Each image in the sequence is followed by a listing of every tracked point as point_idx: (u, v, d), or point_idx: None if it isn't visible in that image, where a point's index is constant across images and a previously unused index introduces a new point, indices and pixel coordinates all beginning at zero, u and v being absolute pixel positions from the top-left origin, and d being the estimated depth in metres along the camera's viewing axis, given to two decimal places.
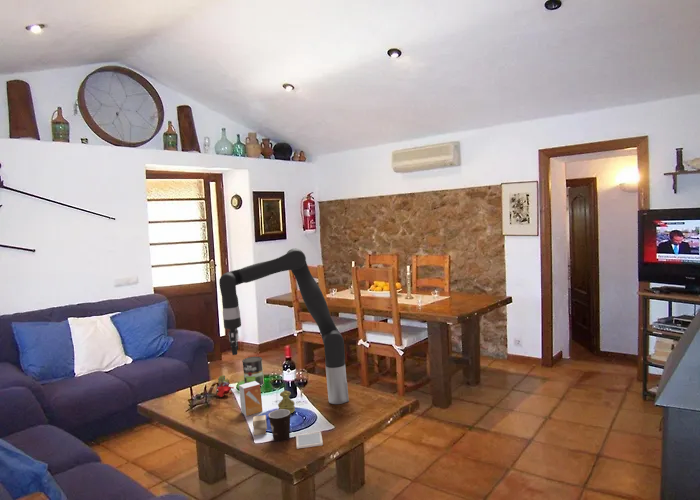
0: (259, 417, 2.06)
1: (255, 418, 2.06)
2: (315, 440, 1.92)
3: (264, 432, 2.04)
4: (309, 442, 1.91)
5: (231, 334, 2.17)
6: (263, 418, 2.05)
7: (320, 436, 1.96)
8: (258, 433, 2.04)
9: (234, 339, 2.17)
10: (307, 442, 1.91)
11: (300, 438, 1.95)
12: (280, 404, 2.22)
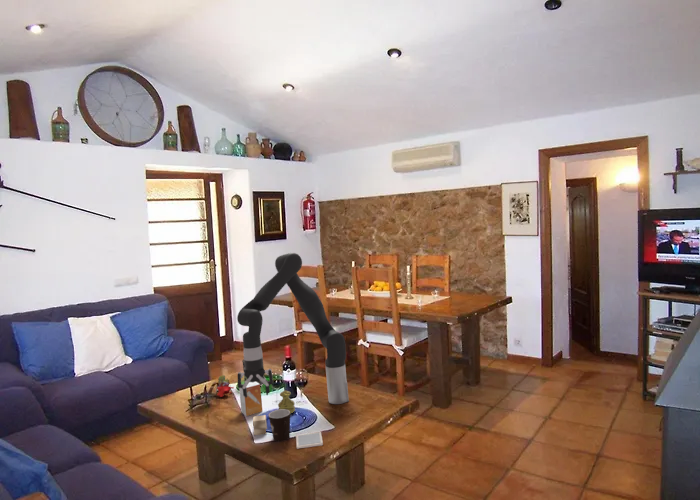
0: (259, 417, 2.06)
1: (255, 418, 2.06)
2: (315, 440, 1.92)
3: (264, 432, 2.04)
4: (309, 442, 1.91)
5: (271, 370, 2.05)
6: (263, 418, 2.05)
7: (320, 436, 1.96)
8: (258, 433, 2.04)
9: None
10: (307, 442, 1.91)
11: (300, 438, 1.95)
12: (280, 404, 2.22)
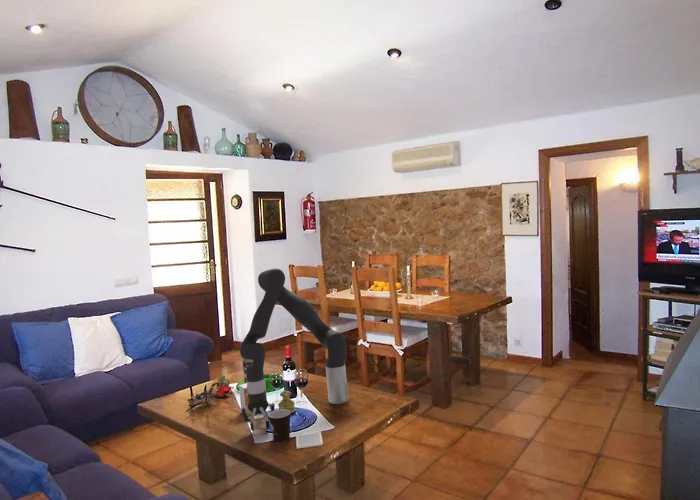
0: (259, 417, 2.06)
1: (255, 418, 2.06)
2: (315, 440, 1.92)
3: (264, 432, 2.04)
4: (309, 442, 1.91)
5: (274, 405, 2.06)
6: (263, 418, 2.05)
7: (320, 436, 1.96)
8: (258, 433, 2.04)
9: None
10: (307, 442, 1.91)
11: (300, 438, 1.95)
12: (280, 404, 2.22)
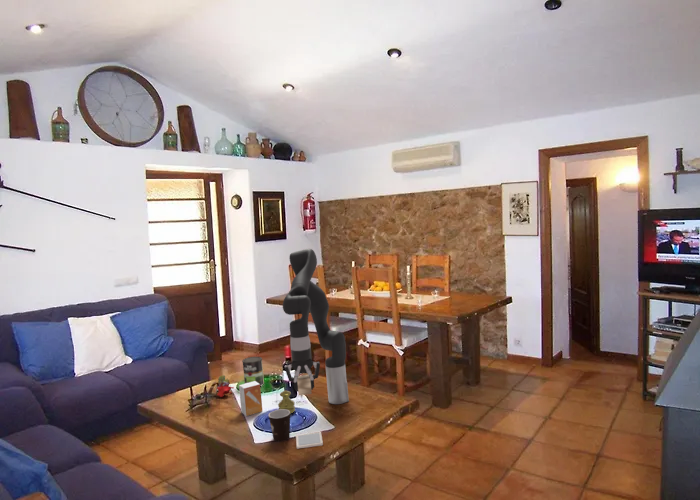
0: (303, 376, 1.93)
1: (299, 377, 1.92)
2: (315, 440, 1.92)
3: (309, 392, 1.91)
4: (309, 442, 1.91)
5: (319, 364, 1.93)
6: (308, 377, 1.92)
7: (320, 436, 1.96)
8: (303, 393, 1.90)
9: None
10: (307, 442, 1.91)
11: (300, 438, 1.95)
12: (280, 404, 2.22)
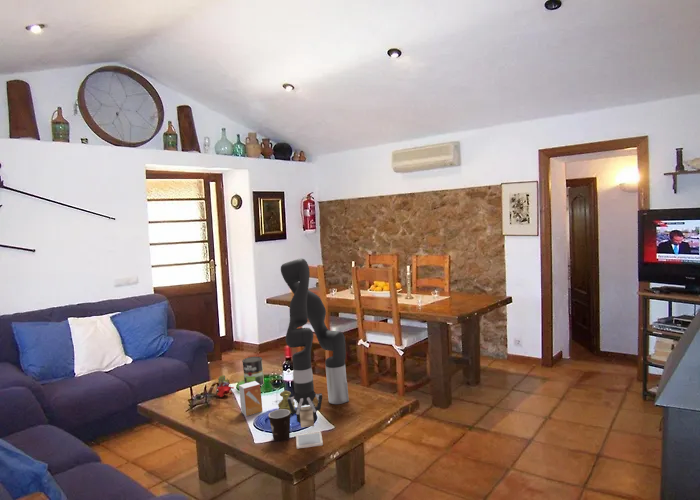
0: (306, 408, 1.94)
1: (301, 409, 1.93)
2: (315, 440, 1.92)
3: (311, 424, 1.91)
4: (309, 442, 1.91)
5: None
6: (310, 409, 1.93)
7: (320, 436, 1.96)
8: (305, 425, 1.91)
9: None
10: (307, 442, 1.91)
11: (300, 438, 1.95)
12: (280, 404, 2.22)
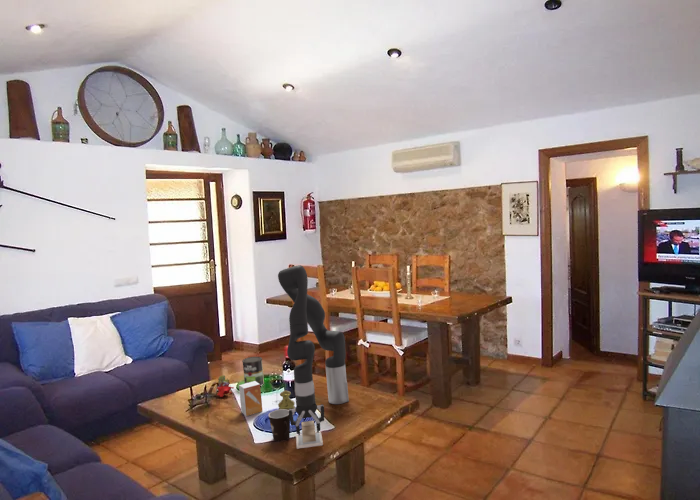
0: (308, 423, 1.94)
1: (303, 424, 1.94)
2: None
3: (313, 439, 1.92)
4: (309, 442, 1.91)
5: (323, 407, 1.94)
6: (312, 424, 1.93)
7: (320, 436, 1.96)
8: (307, 440, 1.92)
9: None
10: (307, 442, 1.91)
11: (300, 438, 1.95)
12: (280, 404, 2.22)
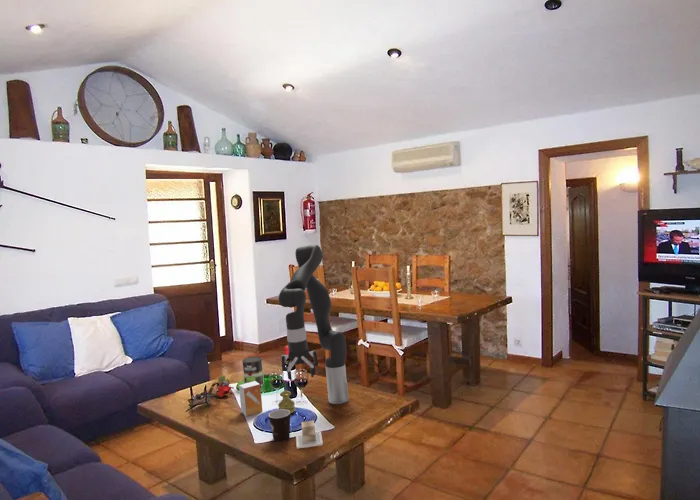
0: (308, 423, 1.94)
1: (303, 424, 1.94)
2: None
3: (313, 439, 1.92)
4: (309, 442, 1.91)
5: (315, 352, 1.98)
6: (312, 424, 1.93)
7: (320, 436, 1.96)
8: (307, 440, 1.92)
9: None
10: (307, 442, 1.91)
11: (300, 438, 1.95)
12: (280, 404, 2.22)
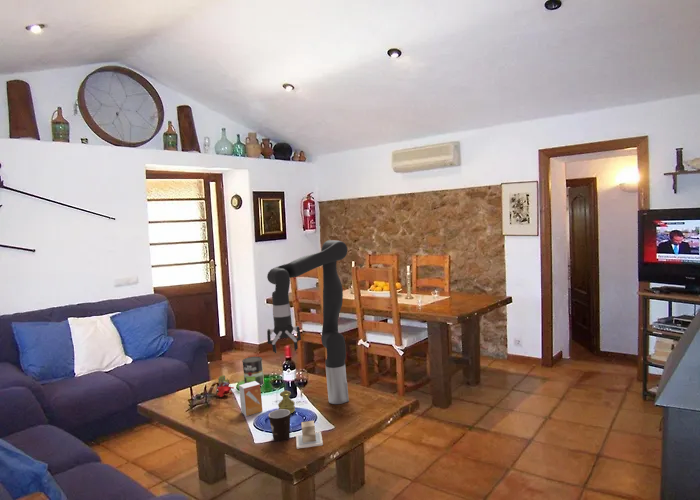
0: (308, 423, 1.94)
1: (303, 424, 1.94)
2: None
3: (313, 439, 1.92)
4: (309, 442, 1.91)
5: None
6: (312, 424, 1.93)
7: (320, 436, 1.96)
8: (307, 440, 1.92)
9: None
10: (307, 442, 1.91)
11: (300, 438, 1.95)
12: (280, 404, 2.22)
